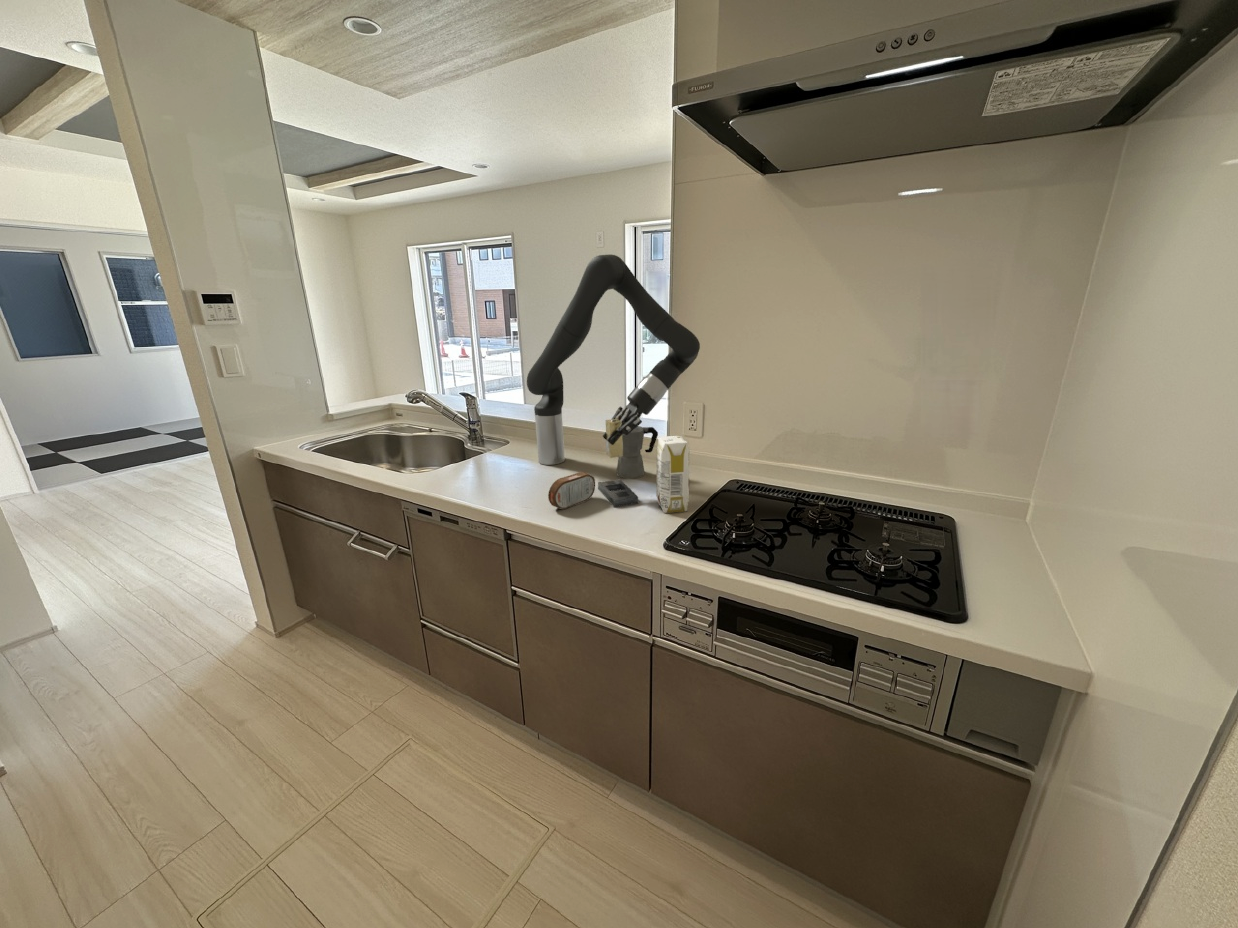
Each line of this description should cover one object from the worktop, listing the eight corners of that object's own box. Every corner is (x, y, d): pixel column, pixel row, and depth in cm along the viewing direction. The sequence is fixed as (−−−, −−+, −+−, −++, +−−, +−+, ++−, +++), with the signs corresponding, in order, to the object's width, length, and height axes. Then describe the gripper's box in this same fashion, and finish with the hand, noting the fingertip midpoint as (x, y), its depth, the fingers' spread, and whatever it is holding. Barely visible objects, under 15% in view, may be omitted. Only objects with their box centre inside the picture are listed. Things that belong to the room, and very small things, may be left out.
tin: (590, 495, 140) (589, 467, 138) (597, 498, 138) (596, 470, 136) (548, 510, 130) (546, 481, 128) (555, 514, 128) (553, 484, 126)
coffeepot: (608, 478, 153) (606, 423, 147) (612, 468, 162) (610, 416, 156) (657, 479, 151) (657, 423, 146) (658, 469, 160) (658, 416, 154)
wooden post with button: (605, 454, 138) (604, 419, 135) (619, 452, 139) (618, 418, 136) (609, 458, 135) (608, 422, 132) (623, 456, 136) (623, 421, 133)
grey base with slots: (598, 488, 145) (597, 482, 144) (620, 485, 147) (620, 479, 146) (614, 507, 132) (614, 500, 131) (638, 503, 134) (638, 496, 133)
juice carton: (662, 515, 126) (662, 445, 120) (654, 502, 134) (654, 436, 128) (690, 512, 127) (692, 443, 121) (681, 500, 135) (682, 434, 129)
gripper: (629, 381, 139) (590, 426, 140) (648, 389, 127) (605, 439, 127) (646, 398, 143) (608, 442, 143) (666, 407, 130) (625, 455, 130)
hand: (607, 440), depth 135 cm, fingers closed on wooden post with button, 3 cm apart
